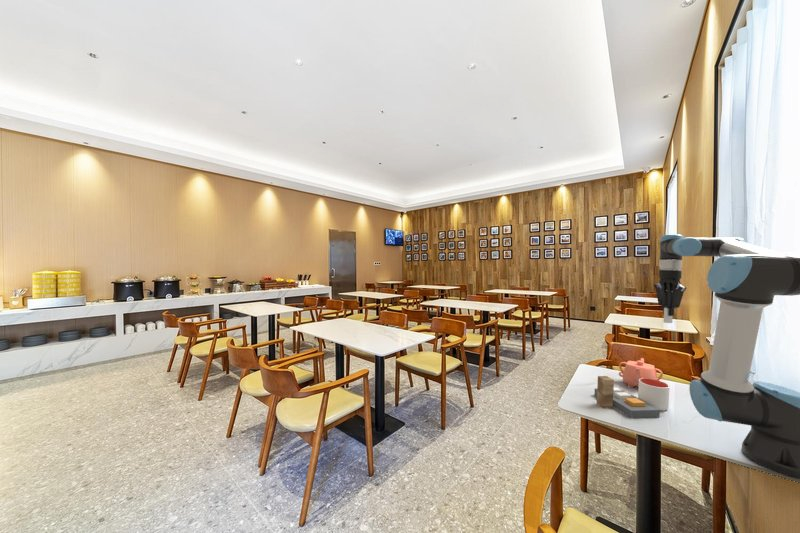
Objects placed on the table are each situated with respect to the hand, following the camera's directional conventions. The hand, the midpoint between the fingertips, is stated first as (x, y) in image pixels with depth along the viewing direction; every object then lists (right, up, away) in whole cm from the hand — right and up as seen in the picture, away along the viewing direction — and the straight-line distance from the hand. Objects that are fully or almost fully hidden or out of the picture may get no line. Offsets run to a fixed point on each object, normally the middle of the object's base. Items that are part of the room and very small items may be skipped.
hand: (667, 322), depth 135 cm
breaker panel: (-24, -34, -6) cm, 42 cm away
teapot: (-2, -34, +14) cm, 37 cm away
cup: (-12, -35, -6) cm, 37 cm away
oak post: (-33, -34, -7) cm, 48 cm away
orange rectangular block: (-23, -33, -11) cm, 42 cm away
